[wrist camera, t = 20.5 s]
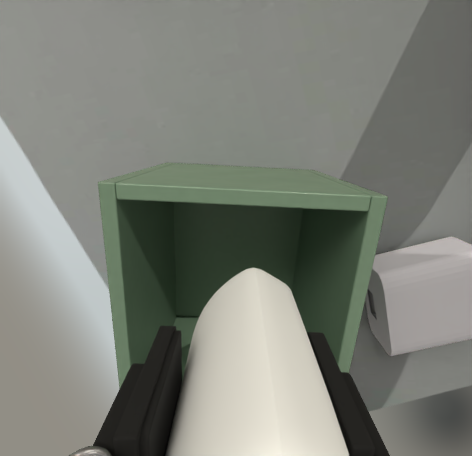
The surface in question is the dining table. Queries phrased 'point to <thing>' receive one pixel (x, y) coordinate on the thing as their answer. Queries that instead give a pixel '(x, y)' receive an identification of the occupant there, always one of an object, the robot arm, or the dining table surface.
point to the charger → (421, 296)
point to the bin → (234, 248)
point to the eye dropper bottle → (253, 379)
